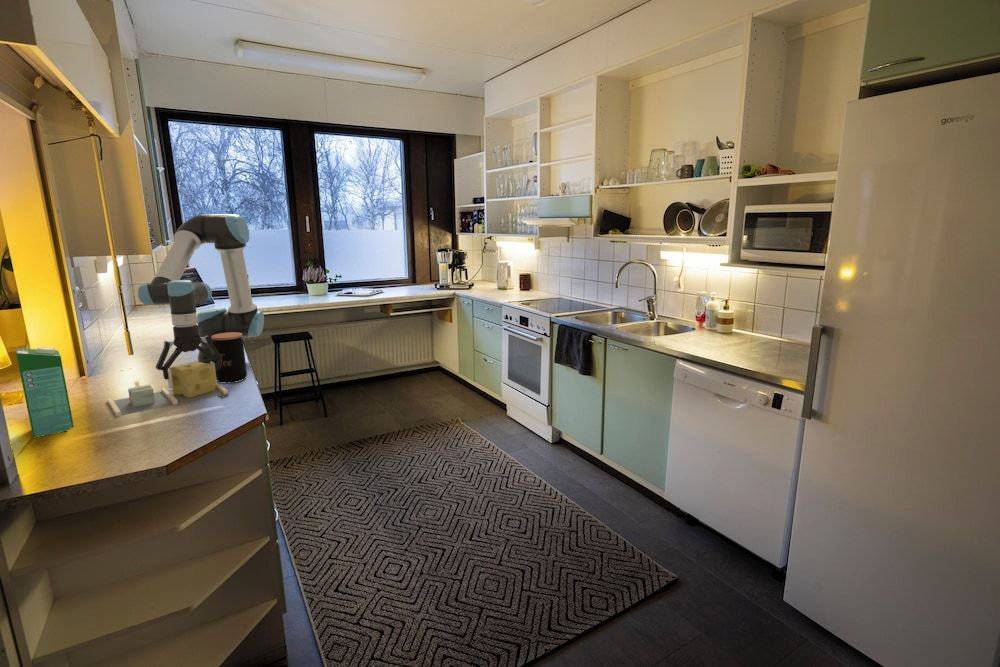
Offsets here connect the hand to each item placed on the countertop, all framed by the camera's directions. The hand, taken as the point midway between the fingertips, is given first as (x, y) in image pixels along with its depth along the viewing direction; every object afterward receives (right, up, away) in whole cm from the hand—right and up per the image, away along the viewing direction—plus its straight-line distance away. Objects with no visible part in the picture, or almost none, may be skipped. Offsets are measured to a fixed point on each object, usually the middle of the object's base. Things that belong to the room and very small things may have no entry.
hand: (193, 383), depth 180 cm
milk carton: (-23, -11, -30) cm, 39 cm away
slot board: (-6, -5, -4) cm, 9 cm away
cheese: (0, -3, +1) cm, 3 cm away
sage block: (-11, -5, -10) cm, 16 cm away
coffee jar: (+4, 0, +19) cm, 20 cm away
